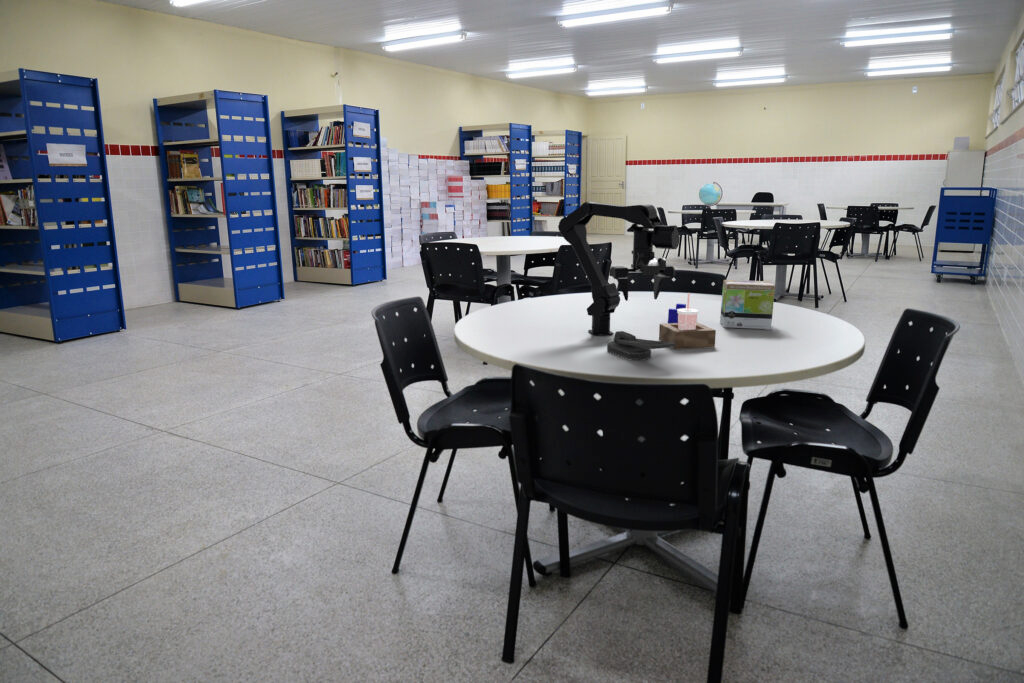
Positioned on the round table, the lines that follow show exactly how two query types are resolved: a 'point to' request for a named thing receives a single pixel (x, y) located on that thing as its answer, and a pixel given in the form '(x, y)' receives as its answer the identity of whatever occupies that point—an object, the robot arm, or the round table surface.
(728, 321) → the tea box
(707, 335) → the walnut well block
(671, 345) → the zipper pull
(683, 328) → the beverage cup
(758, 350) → the round table surface
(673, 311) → the blue piece
